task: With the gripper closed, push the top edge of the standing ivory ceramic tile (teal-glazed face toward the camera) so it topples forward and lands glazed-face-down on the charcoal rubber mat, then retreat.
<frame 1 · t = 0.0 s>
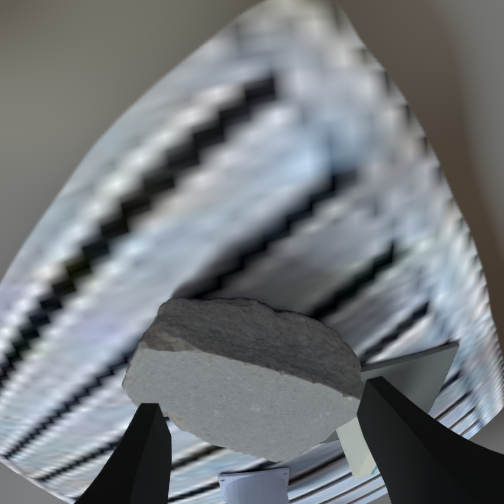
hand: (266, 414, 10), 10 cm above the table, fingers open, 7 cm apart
decorative stone: (245, 345, 21), on the table
tile: (350, 410, 25), point 1 cm above the table, touching mat
mat: (385, 396, 25), on the table
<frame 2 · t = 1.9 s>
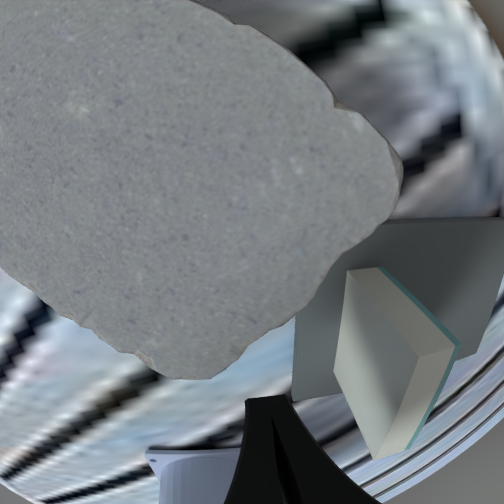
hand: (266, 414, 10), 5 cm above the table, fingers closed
decorative stone: (150, 142, 11), on the table
tile: (357, 324, 14), point 1 cm above the table, touching mat
mat: (416, 306, 15), on the table
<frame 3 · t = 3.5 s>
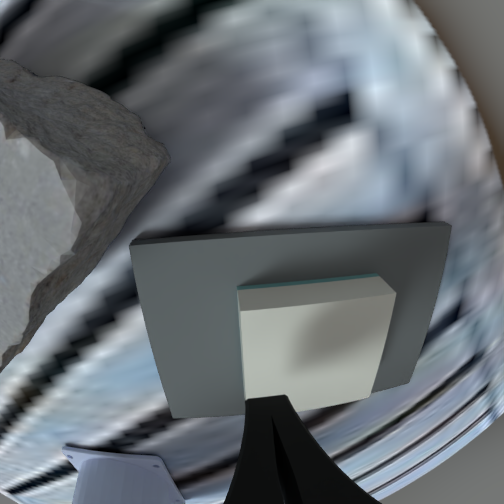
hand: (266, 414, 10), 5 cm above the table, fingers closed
decorative stone: (14, 162, 10), on the table
tile: (242, 359, 13), point 1 cm above the table, tilted 90°, touching mat
mat: (304, 330, 14), on the table
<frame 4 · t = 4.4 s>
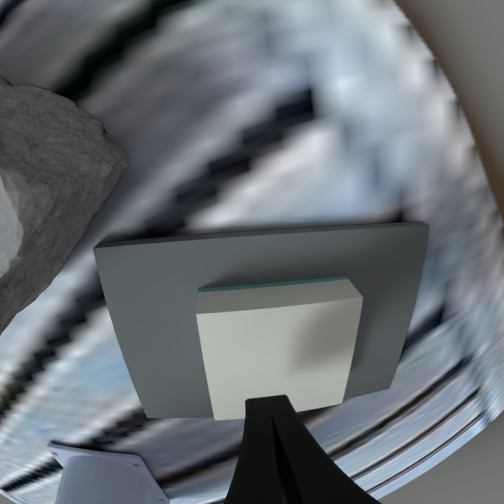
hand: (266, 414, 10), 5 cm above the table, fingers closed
tile: (206, 361, 12), point 1 cm above the table, tilted 90°, touching mat
mat: (273, 334, 14), on the table
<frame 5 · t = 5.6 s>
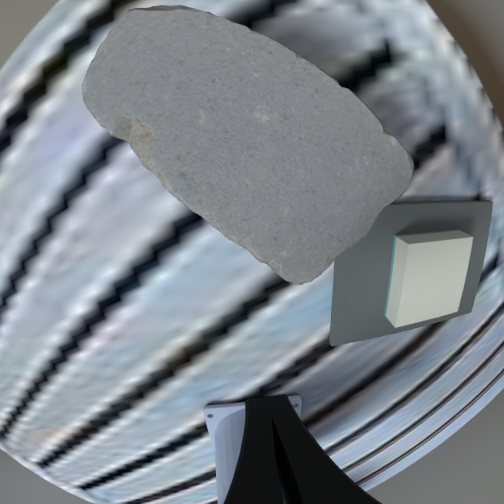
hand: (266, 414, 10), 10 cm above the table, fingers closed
decorative stone: (245, 141, 17), on the table
tile: (395, 282, 19), point 1 cm above the table, tilted 90°, touching mat
mat: (419, 268, 21), on the table
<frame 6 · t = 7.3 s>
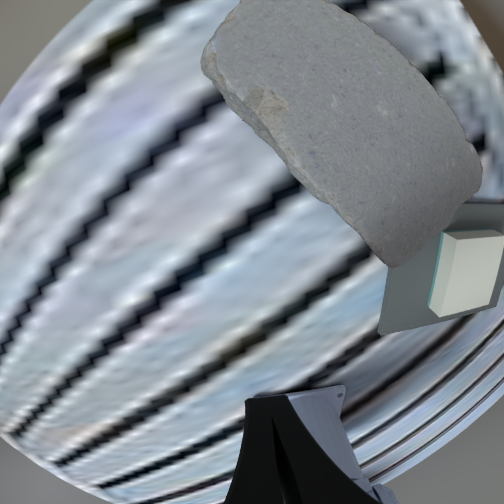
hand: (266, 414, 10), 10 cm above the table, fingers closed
decorative stone: (326, 132, 17), on the table
tile: (441, 275, 19), point 1 cm above the table, tilted 90°, touching mat
mat: (457, 263, 21), on the table
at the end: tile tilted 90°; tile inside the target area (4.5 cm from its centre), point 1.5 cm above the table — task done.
